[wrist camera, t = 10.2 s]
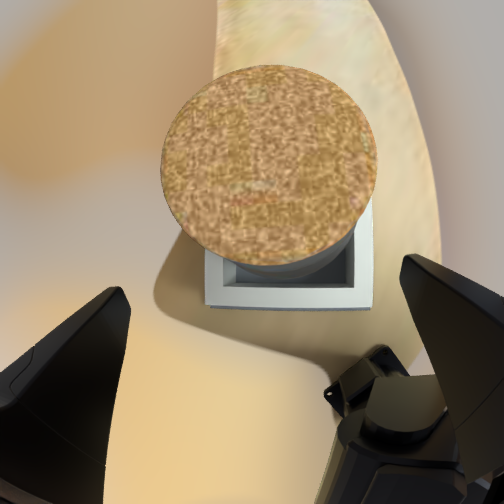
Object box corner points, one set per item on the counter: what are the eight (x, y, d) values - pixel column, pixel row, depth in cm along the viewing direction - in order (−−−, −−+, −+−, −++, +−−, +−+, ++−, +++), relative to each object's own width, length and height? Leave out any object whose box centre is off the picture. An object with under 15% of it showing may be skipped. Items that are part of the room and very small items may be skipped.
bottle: (338, 202, 20) (409, 77, 5) (319, 280, 20) (368, 329, 5) (262, 183, 21) (186, 43, 6) (241, 258, 21) (108, 251, 6)
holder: (367, 307, 20) (383, 319, 15) (214, 305, 22) (193, 316, 18) (362, 156, 20) (375, 132, 16) (216, 159, 22) (198, 137, 18)
